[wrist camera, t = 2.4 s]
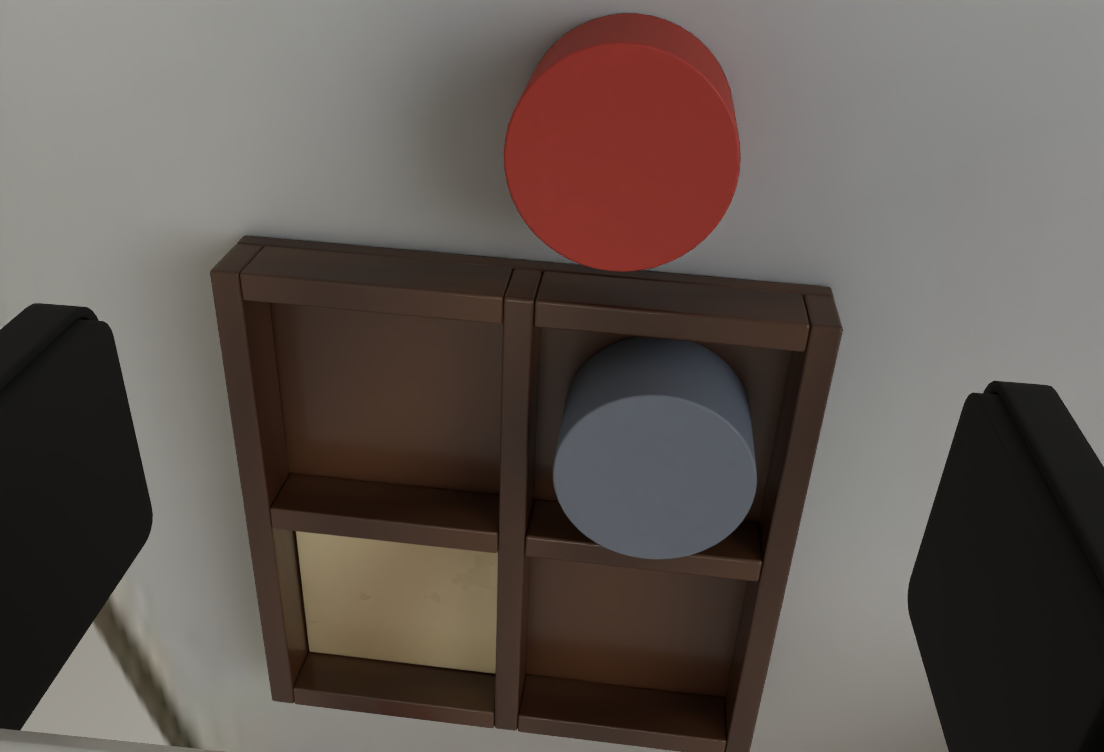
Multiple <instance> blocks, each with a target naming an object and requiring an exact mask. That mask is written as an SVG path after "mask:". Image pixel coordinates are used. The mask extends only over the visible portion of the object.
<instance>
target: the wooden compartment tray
mask: <svg viewBox="0 0 1104 752" xmlns="http://www.w3.org/2000/svg"><path fill="white" fill-rule="evenodd" d="M210 275H211V282H212V289H213V296H214V302H215V309H216V316H217V323H218V330H219V337H220V344H221V351H222V357H223V364H224V371H225V378H226V385H227V392H228V399H229V406H230V412H231V419H232V426H233V433H234V440H235V447H236V454H237V460H238V467H239V474H240V481H241V488H242V495H243V502H244V509H245V515H246V522H247V529H248V536H249V543H250V550H251V557H252V564H253V570H254V577H255V584H256V591H257V598H258V605H259V612H260V619H261V625H262V632H263V639H264V646H265V653H266V660H267V667H268V673H269V680H270V687H271V694H272V700H273V701H279V702H287V703H294V702H295V704H300V705H308V706H317V707H325V708H333V709H341V710H349V711H357V712H365V713H373V714H381V715H389V716H397V717H406V718H414V719H422V720H430V721H438V722H446V723H454V724H462V725H470V726H478V727H486V728H493V727H494V726H495V728H498V729H506V730H514V731H515V730H517V728H518V731H519V732H527V733H535V734H543V735H551V736H559V737H567V738H575V739H583V740H591V741H599V742H608V743H616V744H624V745H632V746H640V747H648V748H656V749H664V750H672V751H680V752H749V751H750V747H751V742H752V738H753V733H754V729H755V724H756V720H757V715H758V711H759V706H760V702H761V697H762V693H763V688H764V684H765V679H766V675H767V670H768V666H769V661H770V657H771V652H772V648H773V643H774V639H775V634H776V630H777V625H778V620H779V616H780V611H781V607H782V602H783V598H784V593H785V589H786V584H787V580H788V575H789V571H790V566H791V562H792V557H793V553H794V548H795V544H796V539H797V535H798V530H799V526H800V521H801V517H802V512H803V508H804V503H805V499H806V494H807V490H808V485H809V480H810V476H811V471H812V467H813V462H814V458H815V453H816V449H817V444H818V440H819V435H820V431H821V426H822V422H823V417H824V413H825V408H826V404H827V399H828V395H829V390H830V386H831V381H832V377H833V372H834V368H835V363H836V359H837V354H838V350H839V345H840V340H841V336H842V331H843V329H842V325H841V322H840V318H839V315H838V312H837V308H836V305H835V301H834V298H833V293H832V290H831V288H830V287H822V286H811V285H799V284H788V283H777V282H765V281H754V280H743V279H731V278H720V277H709V276H697V275H686V274H674V273H663V272H652V271H640V270H637V271H627V272H624V271H607V270H601V269H595V268H592V267H588V266H584V265H572V264H561V263H550V262H538V261H527V260H516V259H504V258H493V257H481V256H470V255H459V254H447V253H436V252H425V251H413V250H402V249H391V248H379V247H368V246H357V245H345V244H334V243H322V242H311V241H300V240H288V239H277V238H266V237H254V236H243V237H242V238H241V239H240V240H239V241H238V243H237V245H235V246H234V247H233V248H232V249H231V250H230V251H229V252H228V253H227V254H226V255H225V256H224V257H223V258H222V259H221V260H220V261H219V262H218V263H217V264H216V265H215V266H214V267H213V268H212V269H211V271H210ZM634 337H648V338H659V339H669V340H680V341H691V342H695V343H697V344H699V345H702V346H704V347H705V348H707V349H709V350H711V351H713V352H714V353H715V354H717V355H718V356H719V357H721V358H722V359H723V360H724V361H725V362H726V363H727V364H728V365H729V366H731V368H732V369H733V370H734V372H735V373H736V374H737V375H738V377H739V379H740V380H741V382H742V384H743V386H744V388H745V391H746V394H747V397H748V401H749V406H750V416H751V425H752V434H753V443H754V453H755V462H756V473H757V485H756V492H755V496H754V500H753V503H752V505H751V507H750V509H749V512H748V513H747V515H746V516H745V518H744V519H743V521H742V522H741V523H740V524H739V526H738V527H737V528H736V529H735V530H734V531H733V532H732V533H731V534H730V535H728V536H727V537H726V538H725V539H723V540H722V541H720V542H719V543H717V544H716V545H714V546H712V547H710V548H708V549H706V550H703V551H701V552H698V553H695V554H692V555H688V556H684V557H679V558H672V559H643V558H637V557H631V556H627V555H624V554H620V553H617V552H615V551H612V550H609V549H607V548H605V547H603V546H601V545H599V544H597V543H596V542H594V541H593V540H591V539H590V538H588V537H587V536H586V535H584V534H583V533H582V532H581V531H580V530H578V529H577V527H576V526H575V525H574V524H573V523H572V522H571V521H570V520H569V518H568V517H567V515H566V514H565V513H564V511H563V509H562V507H561V505H560V503H559V501H558V498H557V496H556V493H555V489H554V483H553V465H554V458H555V453H556V448H557V442H558V437H559V432H560V427H561V421H562V416H563V411H564V406H565V401H566V396H567V393H568V390H569V387H570V385H571V383H572V381H573V378H574V377H575V375H576V374H577V372H578V371H579V369H580V368H581V367H582V366H583V365H584V364H585V363H586V362H587V361H588V360H589V359H590V358H591V357H593V356H594V355H595V354H596V353H598V352H600V351H601V350H603V349H604V348H606V347H608V346H610V345H612V344H614V343H617V342H619V341H622V340H626V339H629V338H634Z"/></svg>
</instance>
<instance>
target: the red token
mask: <svg viewBox="0 0 1104 752" xmlns="http://www.w3.org/2000/svg"><path fill="white" fill-rule="evenodd" d="M504 169H505V175H506V180H507V185H508V188H509V191H510V194H511V197H512V199H513V202H514V204H515V206H516V208H517V210H518V212H519V213H520V215H521V217H522V218H523V220H524V221H525V223H526V224H527V225H528V226H529V228H530V229H531V230H532V231H533V232H534V234H535V235H536V236H537V237H538V238H540V239H541V240H542V241H543V242H544V243H545V244H546V245H547V246H549V247H550V248H552V249H553V250H554V251H556V252H557V253H559V254H561V255H562V256H564V257H566V258H568V259H570V260H572V261H574V262H577V263H579V264H582V265H584V266H588V267H592V268H595V269H601V270H607V271H624V272H627V271H637V270H644V269H648V268H653V267H657V266H660V265H662V264H665V263H668V262H670V261H672V260H675V259H677V258H679V257H681V256H683V255H684V254H686V253H687V252H689V251H690V250H692V249H693V248H695V247H696V246H697V245H698V244H699V243H701V242H702V241H703V240H704V239H705V238H706V237H707V236H708V235H709V234H710V233H711V232H712V231H713V230H714V228H715V227H716V226H717V225H718V223H719V222H720V220H721V219H722V217H723V216H724V214H725V212H726V211H727V209H728V207H729V205H730V203H731V200H732V198H733V195H734V192H735V189H736V186H737V181H738V177H739V170H740V142H739V136H738V130H737V123H736V117H735V111H734V105H733V100H732V95H731V90H730V87H729V84H728V81H727V78H726V76H725V74H724V72H723V70H722V68H721V66H720V64H719V63H718V61H717V60H716V58H715V57H714V56H713V54H712V53H711V52H710V51H709V49H708V48H707V47H706V46H705V45H704V44H703V43H702V42H701V41H700V40H699V39H697V38H696V37H695V36H694V35H692V34H691V33H690V32H688V31H687V30H685V29H683V28H682V27H680V26H678V25H676V24H674V23H672V22H669V21H667V20H665V19H661V18H658V17H654V16H650V15H643V14H615V15H608V16H604V17H600V18H597V19H593V20H591V21H589V22H586V23H584V24H582V25H580V26H578V27H576V28H575V29H573V30H571V31H570V32H568V33H567V34H565V35H564V36H563V37H562V38H560V39H559V40H558V41H557V42H556V43H555V44H554V45H553V46H552V47H551V48H550V49H549V50H548V51H547V52H546V54H545V55H544V56H543V58H542V59H541V61H540V62H539V63H538V65H537V67H536V69H535V71H534V73H533V74H532V76H531V78H530V80H529V82H528V84H527V86H526V88H525V90H524V92H523V94H522V95H521V97H520V99H519V101H518V103H517V105H516V107H515V109H514V111H513V113H512V116H511V119H510V122H509V124H508V128H507V133H506V137H505V146H504Z"/></svg>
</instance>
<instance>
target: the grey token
mask: <svg viewBox="0 0 1104 752" xmlns="http://www.w3.org/2000/svg"><path fill="white" fill-rule="evenodd" d="M553 483H554V489H555V493H556V496H557V498H558V501H559V503H560V505H561V507H562V509H563V511H564V513H565V514H566V515H567V517H568V518H569V520H570V521H571V522H572V523H573V524H574V525H575V526H576V527H577V529H578V530H580V531H581V532H582V533H583V534H584V535H586V536H587V537H588V538H590V539H591V540H593V541H594V542H596V543H597V544H599V545H601V546H603V547H605V548H607V549H609V550H612V551H615V552H617V553H620V554H624V555H627V556H631V557H637V558H643V559H672V558H679V557H684V556H688V555H692V554H695V553H698V552H701V551H703V550H706V549H708V548H710V547H712V546H714V545H716V544H717V543H719V542H720V541H722V540H723V539H725V538H726V537H727V536H728V535H730V534H731V533H732V532H733V531H734V530H735V529H736V528H737V527H738V526H739V524H740V523H741V522H742V521H743V519H744V518H745V516H746V515H747V513H748V512H749V509H750V507H751V505H752V503H753V500H754V496H755V492H756V485H757V473H756V462H755V453H754V443H753V434H752V425H751V416H750V406H749V401H748V397H747V394H746V391H745V388H744V386H743V384H742V382H741V380H740V379H739V377H738V375H737V374H736V373H735V372H734V370H733V369H732V368H731V366H729V365H728V364H727V363H726V362H725V361H724V360H723V359H722V358H721V357H719V356H718V355H717V354H715V353H714V352H713V351H711V350H709V349H707V348H705V347H704V346H702V345H699V344H697V343H695V342H691V341H680V340H669V339H659V338H648V337H634V338H629V339H626V340H622V341H619V342H617V343H614V344H612V345H610V346H608V347H606V348H604V349H603V350H601V351H600V352H598V353H596V354H595V355H594V356H593V357H591V358H590V359H589V360H588V361H587V362H586V363H585V364H584V365H583V366H582V367H581V368H580V369H579V371H578V372H577V374H576V375H575V377H574V378H573V381H572V383H571V385H570V387H569V390H568V393H567V396H566V401H565V406H564V411H563V416H562V421H561V427H560V432H559V437H558V442H557V448H556V453H555V458H554V465H553Z"/></svg>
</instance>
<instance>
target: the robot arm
mask: <svg viewBox="0 0 1104 752" xmlns="http://www.w3.org/2000/svg"><path fill="white" fill-rule="evenodd" d="M152 517H153V513H152V506H151V502H150V497H149V493H148V488H147V484H146V479H145V475H144V470H143V466H142V461H141V457H140V452H139V448H138V444H137V439H136V435H135V430H134V426H133V421H132V417H131V412H130V408H129V403H128V399H127V394H126V390H125V385H124V381H123V376H122V372H121V367H120V363H119V358H118V354H117V349H116V345H115V341H114V336H113V333H112V330H111V328H110V327H109V325H108V324H107V323H105V322H104V321H98V318H97V316H96V315H95V313H94V312H93V311H92V310H91V309H89V308H87V307H78V306H66V305H53V304H41V303H37V304H32V305H30V306H28V307H27V308H25V309H24V310H23V311H22V312H21V313H20V314H18V315H17V316H16V317H15V318H14V319H12V320H11V321H10V322H9V323H8V324H7V325H5V326H4V327H3V328H2V329H1V330H0V752H223V751H213V750H203V749H194V748H184V747H174V746H164V745H155V744H145V743H135V742H125V741H116V740H106V739H97V738H87V737H77V736H68V735H58V734H48V733H37V732H28V731H20V730H21V728H22V727H23V725H24V724H25V722H26V721H27V719H28V718H29V716H30V715H31V713H32V711H33V710H34V709H35V707H36V706H37V704H38V703H39V701H40V700H41V698H42V697H43V695H44V694H45V692H46V691H47V689H48V688H49V686H50V685H51V683H52V682H53V680H54V679H55V677H56V676H57V674H58V673H59V671H60V670H61V668H62V667H63V665H64V664H65V662H66V661H67V659H68V658H69V656H70V655H71V653H72V652H73V650H74V649H75V647H76V646H77V644H78V643H79V642H80V640H81V639H82V637H83V635H84V634H85V633H86V631H87V629H88V628H89V627H90V625H91V624H92V622H93V621H94V619H95V618H96V616H97V615H98V613H99V612H100V610H101V609H102V607H103V606H104V604H105V603H106V601H107V600H108V598H109V597H110V595H111V594H112V592H113V591H114V589H115V588H116V586H117V585H118V583H119V582H120V580H121V579H122V577H123V576H124V574H125V573H126V571H127V570H128V568H129V567H130V565H131V564H132V562H133V561H134V559H135V558H136V556H137V555H138V553H139V552H140V550H141V549H142V547H143V546H144V544H145V543H146V541H147V539H148V537H149V534H150V531H151V526H152ZM908 610H909V615H910V619H911V622H912V626H913V629H914V633H915V636H916V640H917V643H918V647H919V650H920V654H921V657H922V661H923V664H924V667H925V671H926V674H927V678H928V681H929V685H930V688H931V692H932V695H933V699H934V702H935V706H936V709H937V712H938V716H939V719H940V723H941V726H942V730H943V733H944V737H945V740H946V744H947V747H948V751H949V752H1104V467H1103V465H1102V464H1101V462H1100V460H1099V459H1098V457H1097V456H1096V454H1095V452H1094V451H1093V449H1092V448H1091V446H1090V444H1089V443H1088V441H1087V440H1086V438H1085V436H1084V435H1083V433H1082V432H1081V430H1080V429H1079V427H1078V425H1077V424H1076V422H1075V421H1074V419H1073V417H1072V416H1071V414H1070V413H1069V411H1068V409H1067V408H1066V406H1065V405H1064V403H1063V401H1062V400H1061V398H1060V397H1059V395H1058V393H1057V392H1056V391H1055V390H1054V389H1053V387H1052V386H1048V385H1039V384H1027V383H1014V382H1002V381H993V382H991V383H989V384H988V386H987V387H986V389H985V390H984V393H971V394H970V395H969V396H968V397H967V399H966V401H965V403H964V406H963V409H962V412H961V415H960V419H959V422H958V425H957V428H956V432H955V435H954V438H953V441H952V445H951V448H950V451H949V454H948V458H947V461H946V464H945V467H944V471H943V474H942V477H941V480H940V484H939V487H938V490H937V493H936V497H935V500H934V503H933V506H932V510H931V513H930V516H929V519H928V523H927V526H926V529H925V533H924V536H923V539H922V542H921V546H920V549H919V552H918V555H917V559H916V562H915V565H914V568H913V572H912V575H911V578H910V582H909V588H908Z"/></svg>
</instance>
